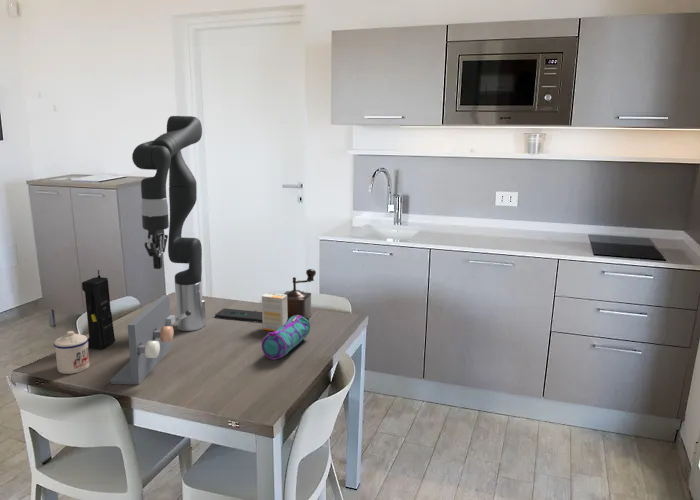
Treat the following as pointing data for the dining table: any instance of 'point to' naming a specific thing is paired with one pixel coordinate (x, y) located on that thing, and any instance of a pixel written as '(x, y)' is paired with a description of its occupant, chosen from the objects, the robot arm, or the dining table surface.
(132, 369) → the control panel
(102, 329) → the portable radio
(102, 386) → the dining table surface
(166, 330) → the terracotta button
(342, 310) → the dining table surface
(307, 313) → the manual coffee grinder
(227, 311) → the smart home device
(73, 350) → the teacup with lid
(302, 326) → the pencil case
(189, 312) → the toggle lever
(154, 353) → the cream button
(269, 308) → the supplement box
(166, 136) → the robot arm
